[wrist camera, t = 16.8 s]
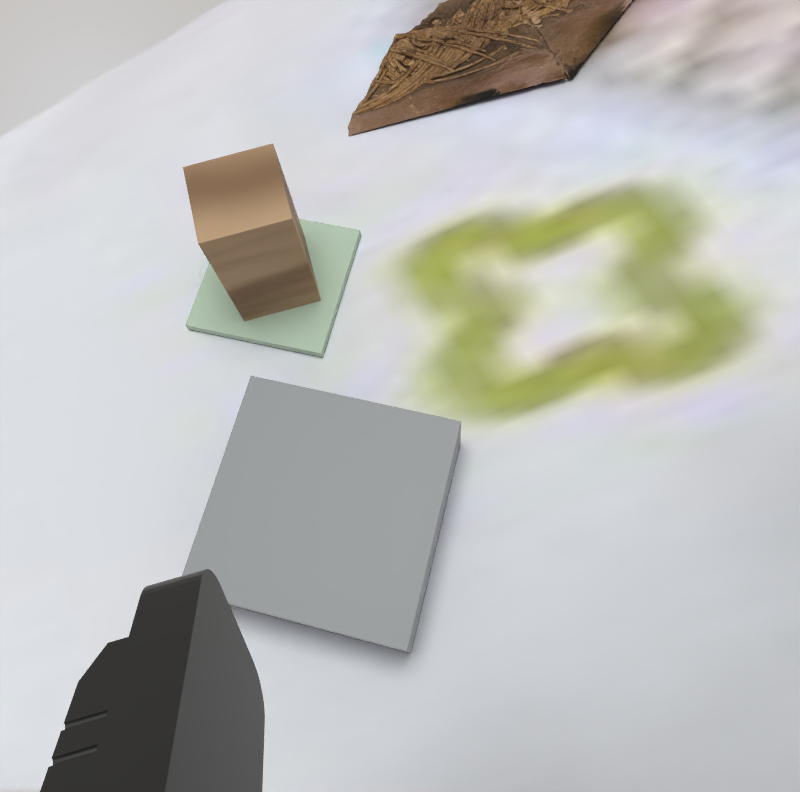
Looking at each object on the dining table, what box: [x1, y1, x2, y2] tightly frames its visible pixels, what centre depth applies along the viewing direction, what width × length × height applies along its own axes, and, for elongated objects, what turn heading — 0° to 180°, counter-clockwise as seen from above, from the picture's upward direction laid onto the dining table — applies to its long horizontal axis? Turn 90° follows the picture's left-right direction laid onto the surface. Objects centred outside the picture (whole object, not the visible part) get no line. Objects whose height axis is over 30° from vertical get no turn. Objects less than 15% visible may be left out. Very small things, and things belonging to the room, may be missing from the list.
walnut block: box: [183, 144, 321, 322], centre depth 43 cm, size 5×5×9 cm
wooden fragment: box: [348, 0, 632, 136], centre depth 54 cm, size 26×11×1 cm, turn 118°
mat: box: [186, 219, 361, 357], centre depth 48 cm, size 9×9×1 cm
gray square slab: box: [182, 376, 461, 653], centre depth 41 cm, size 12×12×4 cm
